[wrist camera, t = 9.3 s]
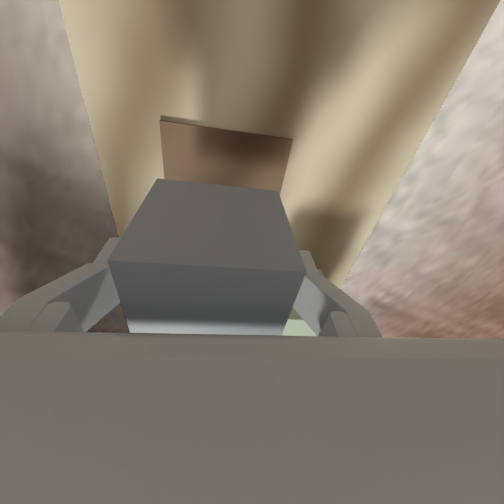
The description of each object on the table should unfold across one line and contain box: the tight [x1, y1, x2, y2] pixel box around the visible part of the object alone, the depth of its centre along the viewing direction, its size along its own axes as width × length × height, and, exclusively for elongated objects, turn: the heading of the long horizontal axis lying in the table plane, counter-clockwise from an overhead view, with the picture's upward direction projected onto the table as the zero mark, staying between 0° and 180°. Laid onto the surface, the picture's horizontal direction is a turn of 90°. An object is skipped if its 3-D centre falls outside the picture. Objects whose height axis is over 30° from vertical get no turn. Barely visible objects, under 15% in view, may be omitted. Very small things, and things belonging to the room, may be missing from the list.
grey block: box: [107, 178, 306, 336], centre depth 10 cm, size 5×5×5 cm
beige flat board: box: [59, 0, 500, 289], centre depth 15 cm, size 18×23×1 cm
